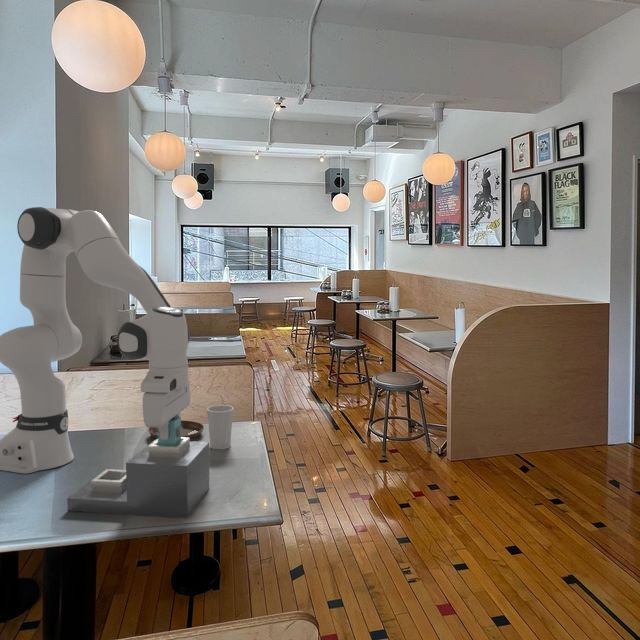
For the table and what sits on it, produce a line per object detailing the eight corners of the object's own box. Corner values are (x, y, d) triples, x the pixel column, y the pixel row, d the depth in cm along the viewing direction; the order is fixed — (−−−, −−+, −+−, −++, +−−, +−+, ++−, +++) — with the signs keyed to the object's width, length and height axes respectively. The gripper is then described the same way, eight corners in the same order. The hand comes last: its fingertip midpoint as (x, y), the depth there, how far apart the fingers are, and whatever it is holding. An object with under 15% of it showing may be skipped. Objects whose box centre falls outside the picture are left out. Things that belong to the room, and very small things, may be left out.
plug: (158, 454, 123) (157, 412, 122) (164, 448, 127) (164, 407, 126) (178, 455, 123) (177, 413, 122) (184, 449, 127) (183, 408, 126)
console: (67, 511, 120) (65, 449, 119) (102, 482, 136) (101, 427, 134) (187, 518, 118) (187, 454, 116) (209, 488, 133) (208, 432, 132)
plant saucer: (202, 426, 185) (202, 418, 185) (205, 443, 168) (205, 433, 168) (149, 430, 180) (149, 421, 180) (147, 447, 163) (147, 437, 163)
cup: (238, 445, 166) (238, 407, 165) (221, 452, 159) (220, 413, 158) (219, 440, 170) (219, 403, 169) (201, 447, 163) (201, 409, 162)
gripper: (172, 368, 134) (172, 421, 135) (136, 386, 113) (138, 448, 115) (196, 369, 133) (196, 422, 135) (165, 387, 113) (166, 450, 114)
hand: (169, 435), depth 125 cm, fingers closed on plug, 4 cm apart
